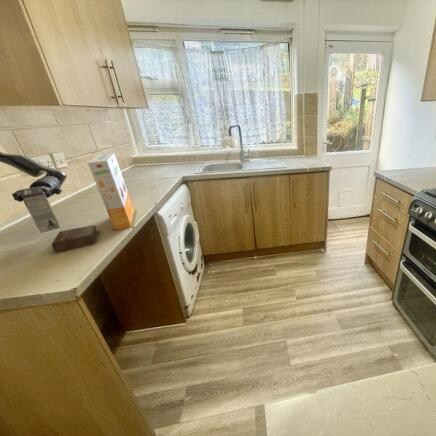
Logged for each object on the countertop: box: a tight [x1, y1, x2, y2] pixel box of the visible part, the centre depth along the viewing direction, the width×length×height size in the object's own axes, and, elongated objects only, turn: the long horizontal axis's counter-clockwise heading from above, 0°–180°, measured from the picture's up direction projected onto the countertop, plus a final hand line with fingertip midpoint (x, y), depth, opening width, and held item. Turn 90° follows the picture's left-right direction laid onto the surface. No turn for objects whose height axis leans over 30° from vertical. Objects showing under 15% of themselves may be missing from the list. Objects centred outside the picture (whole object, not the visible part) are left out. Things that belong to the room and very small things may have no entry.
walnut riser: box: [51, 224, 99, 254], centre depth 98 cm, size 12×12×4 cm
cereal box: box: [87, 152, 135, 230], centre depth 112 cm, size 22×6×30 cm, turn 27°
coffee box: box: [19, 186, 61, 234], centre depth 98 cm, size 9×6×16 cm
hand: (32, 197), depth 95 cm, fingers closed on coffee box, 7 cm apart
